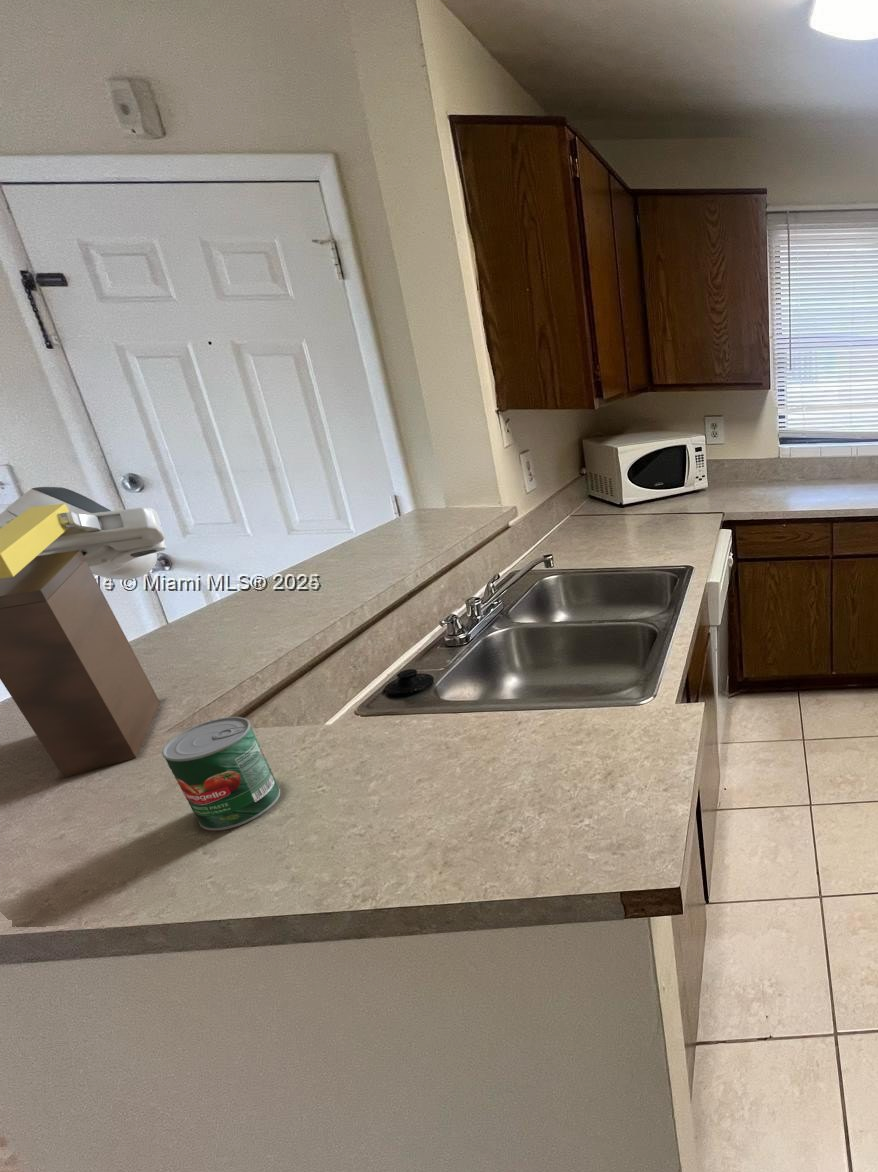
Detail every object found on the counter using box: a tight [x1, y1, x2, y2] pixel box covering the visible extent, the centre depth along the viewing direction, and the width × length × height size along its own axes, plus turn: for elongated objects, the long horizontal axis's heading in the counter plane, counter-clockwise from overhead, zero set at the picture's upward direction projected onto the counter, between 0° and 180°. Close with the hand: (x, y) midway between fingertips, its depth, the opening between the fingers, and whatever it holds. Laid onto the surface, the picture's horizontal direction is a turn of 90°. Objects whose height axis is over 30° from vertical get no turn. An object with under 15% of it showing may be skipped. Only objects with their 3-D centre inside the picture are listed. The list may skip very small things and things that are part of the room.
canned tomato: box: [161, 716, 281, 832], centre depth 75 cm, size 8×8×11 cm
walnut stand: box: [0, 550, 160, 778], centre depth 84 cm, size 7×16×26 cm, turn 35°
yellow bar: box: [0, 504, 69, 579], centre depth 81 cm, size 4×24×3 cm, turn 35°
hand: (40, 520), depth 86 cm, fingers closed on yellow bar, 3 cm apart
